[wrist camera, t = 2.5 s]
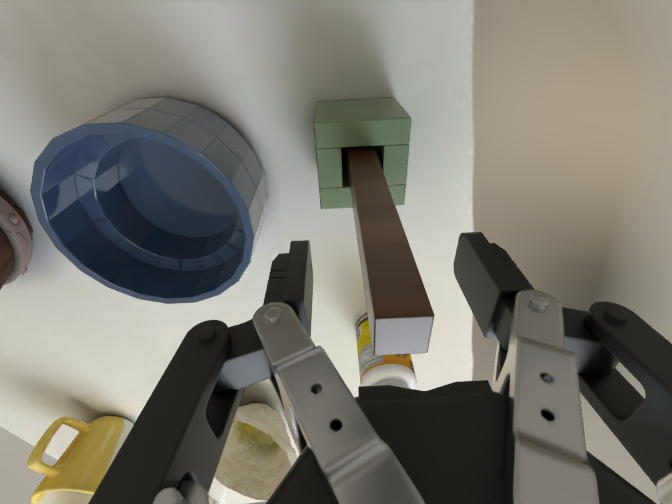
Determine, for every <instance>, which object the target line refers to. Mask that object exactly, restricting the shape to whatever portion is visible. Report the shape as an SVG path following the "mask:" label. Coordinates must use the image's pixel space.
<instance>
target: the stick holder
mask: <svg viewBox="0 0 672 504" xmlns="http://www.w3.org/2000/svg"><path fill="white" fill-rule="evenodd" d="M410 128H411V117H410V116H409V115H408V114H407V112H406V111H405V110H404V109H403V107H402V106H401V105H400V104H399V102H398V101H397V100H396V99H395V98H394V97H391V98H372V99H353V100H334V101H317V102H316V110H315V119H314V131H315V143H316V156H317V168H318V181H319V193H320V205H321V209H332V208H351V207H353V204H352V197H351V190H350V183H349V175H348V168H347V161H346V156H342V155H341V147H358V146H374V148H375V151H376V153H377V156H378V159H379V162H380V165H381V167H382V170H383V173H384V176H385V179H386V181H387V184H388V187H389V190H390V193H391V195H392V198H393V201H394V204H395V205H404V200H405V188H406V177H407V165H408V153H409V140H410Z"/></svg>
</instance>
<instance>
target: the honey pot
mask: <svg viewBox="0 0 672 504" xmlns="http://www.w3.org/2000/svg"><path fill="white" fill-rule="evenodd" d="M226 493H227V487H225V486H223V485H222V484H221V483H220V482H219V481H217V480H216V479H215V477H214V479H213V482H212V484H211V487H210V490H209V493H208V494H209V496H210V497H211V499H212V500H213V502H214V503H215V504H224V502H225V498H226Z"/></svg>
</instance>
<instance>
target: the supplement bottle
mask: <svg viewBox="0 0 672 504" xmlns="http://www.w3.org/2000/svg"><path fill="white" fill-rule="evenodd" d="M356 337H357V349H358V360H359V371H360V382H361V386H381V385H393V386H398V387H403V388H409V389H415V387H416V376H415V372H414V367H413V364H412V360H411V355H410V354H392V355H374V354H373V350H372V343H371V335H370V328H369V321H368V314H367V315H365V316H364V317H362V318H361V319H360V320H359V322H358V324H357V326H356Z"/></svg>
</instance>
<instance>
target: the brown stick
mask: <svg viewBox="0 0 672 504" xmlns="http://www.w3.org/2000/svg"><path fill="white" fill-rule="evenodd" d="M345 154H346V161H347V168H348V175H349V183H350V190H351V197H352V204H353V212H354V219H355V226H356V234H357V241H358V248H359V255H360V263H361V270H362V277H363V284H364V292H365V299H366V306H367V313H368V321H369V328H370V335H371V343H372V350H373V354H374V355H392V354H413V353H427V352H428V347H429V341H430V336H431V330H432V325H433V319H434V313H433V310H432V307H431V305H430V302H429V299H428V296H427V293H426V291H425V288H424V285H423V282H422V279H421V277H420V274H419V271H418V268H417V265H416V263H415V260H414V257H413V254H412V251H411V249H410V246H409V243H408V240H407V237H406V235H405V232H404V229H403V226H402V223H401V221H400V218H399V215H398V212H397V209H396V207H395V204H394V201H393V198H392V195H391V193H390V190H389V187H388V184H387V181H386V179H385V176H384V173H383V170H382V167H381V165H380V162H379V159H378V156H377V153H376V151H375V148H374V146H358V147H345Z"/></svg>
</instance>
